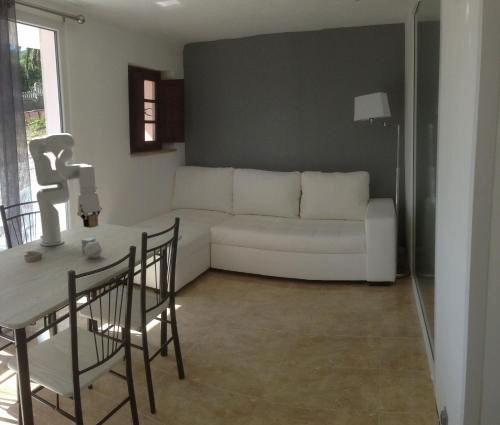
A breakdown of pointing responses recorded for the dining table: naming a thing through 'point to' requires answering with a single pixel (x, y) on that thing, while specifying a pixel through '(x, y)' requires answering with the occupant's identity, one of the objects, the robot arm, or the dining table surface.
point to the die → (92, 250)
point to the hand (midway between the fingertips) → (90, 225)
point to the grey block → (86, 240)
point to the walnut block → (92, 220)
